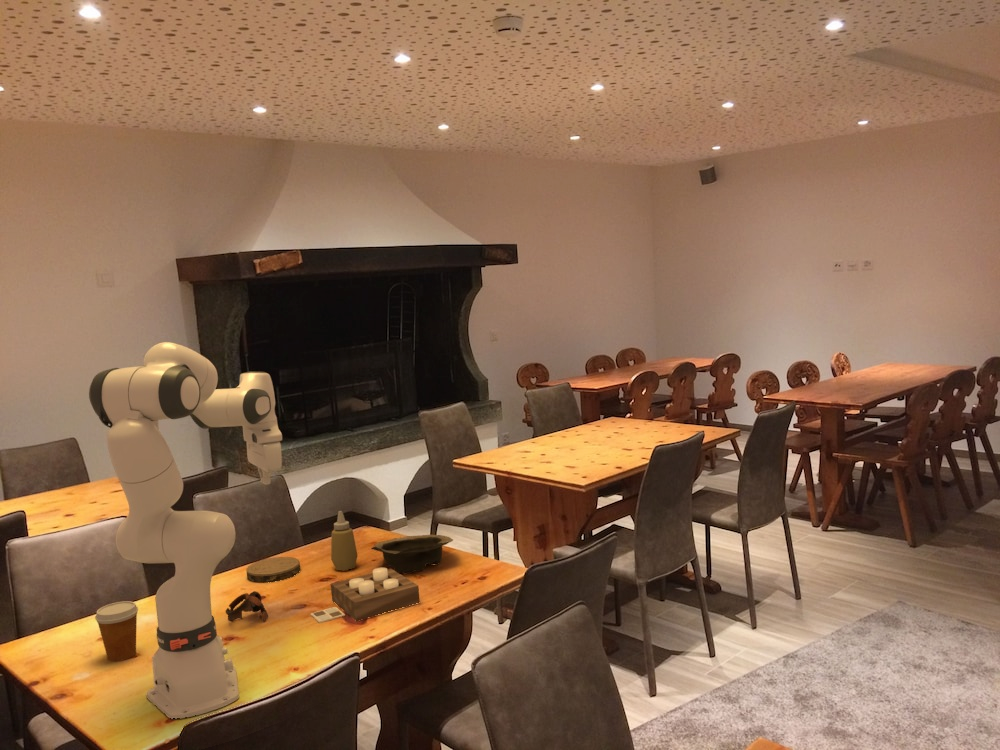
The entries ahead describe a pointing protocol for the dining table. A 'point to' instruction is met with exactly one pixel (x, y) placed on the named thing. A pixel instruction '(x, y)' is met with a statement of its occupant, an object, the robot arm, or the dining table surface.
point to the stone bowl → (412, 551)
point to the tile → (327, 614)
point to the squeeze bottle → (343, 545)
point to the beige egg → (380, 574)
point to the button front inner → (366, 587)
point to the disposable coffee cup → (118, 629)
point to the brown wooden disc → (273, 569)
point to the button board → (374, 596)
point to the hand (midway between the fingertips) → (266, 483)
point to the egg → (355, 582)
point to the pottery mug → (246, 606)
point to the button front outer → (390, 583)
